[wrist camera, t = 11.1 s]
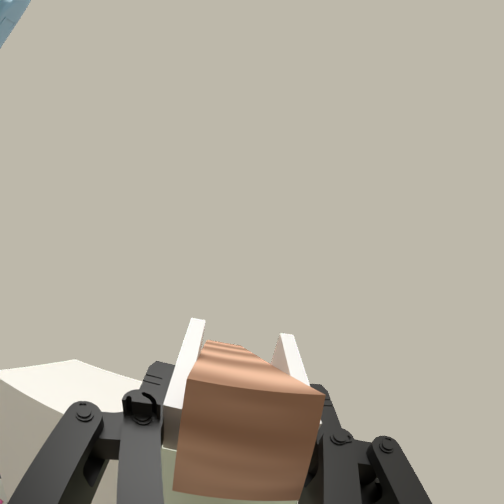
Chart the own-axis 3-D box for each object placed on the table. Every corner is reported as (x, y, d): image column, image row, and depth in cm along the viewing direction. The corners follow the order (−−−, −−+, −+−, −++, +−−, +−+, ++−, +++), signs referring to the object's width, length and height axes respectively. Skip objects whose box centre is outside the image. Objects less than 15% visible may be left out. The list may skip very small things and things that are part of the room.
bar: (299, 500, 6) (325, 394, 7) (172, 490, 6) (186, 378, 7) (235, 377, 31) (240, 345, 32) (201, 371, 31) (207, 339, 32)
